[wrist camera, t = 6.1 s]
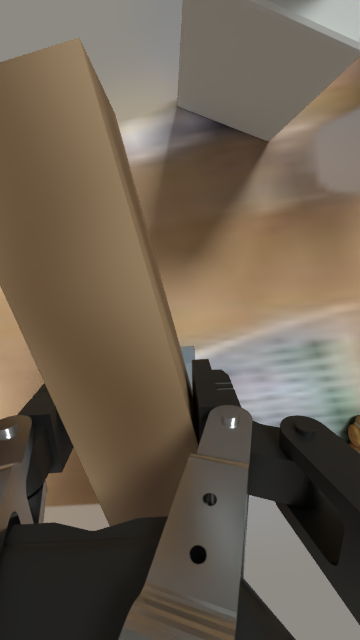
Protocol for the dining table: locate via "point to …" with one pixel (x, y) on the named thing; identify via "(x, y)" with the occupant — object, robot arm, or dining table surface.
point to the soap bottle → (262, 58)
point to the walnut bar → (90, 283)
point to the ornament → (355, 434)
